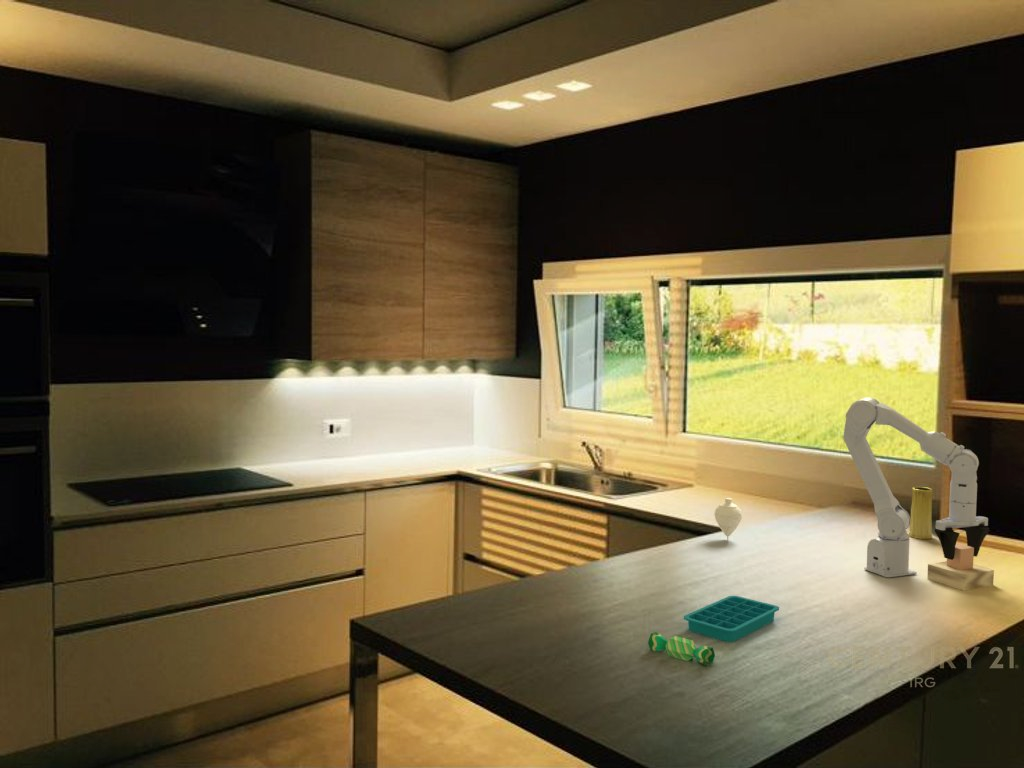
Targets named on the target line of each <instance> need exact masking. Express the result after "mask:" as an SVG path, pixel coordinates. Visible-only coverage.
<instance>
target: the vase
mask: <svg viewBox="0 0 1024 768" xmlns="http://www.w3.org/2000/svg"><path fill="white" fill-rule="evenodd" d="M911 495H912V496H911V506H910V525H909V533H908V535H909V536H910V537H911V538H912V539H913V538H914V539H919V540H930V539H931V540H932V538H933V534H932V531H933V530H932V526H933V524H932V517H933V516H932V515H933V514H932V510H933V509H932V508H933V505H932V504H933V501H932V500H933V496H932V495H933V489H932V488H930V487H925V486H913V487H912V493H911Z"/></svg>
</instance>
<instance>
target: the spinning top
mask: <svg viewBox="0 0 1024 768" xmlns="http://www.w3.org/2000/svg"><path fill="white" fill-rule="evenodd" d="M724 501H725V502H723V503H721V504H719V505H718V506H717V507H716V509H715V510H714V519H715V521H716V523H717V525H718V527H719V528H720V530H721V531H722V533H723V534H724V535H725V537H726V540H729V537H730V536H731V535H732V534H733V533H734V532H735V530H736V529H737V528H738V527H739V525H740V523H741V521H742V517H743V513H742V510H741V508H740V507H739V506H738V505H737V504H735V503H733V498H732V497H726V498H724Z"/></svg>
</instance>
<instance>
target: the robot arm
mask: <svg viewBox="0 0 1024 768" xmlns="http://www.w3.org/2000/svg"><path fill="white" fill-rule="evenodd" d="M874 423H875V425H878V426H879V425H881V426H882V425H883V426H890V427H891V428H893V429H895V430H897V431H899V432H901V433H902V434H904V435H905V436H907V437H909V438H911V439H912V440H914V441H916V442H917V443H918V444H919V447H920V450H921V451H922V452H923V453H925V454H927V455H928V456H929V457H931V458H932V459H934V460H936V461H937V462H939V463H940V464H942V465H943V466H947V467H949V470H950V471H951V476H950V477H951V480H950V483H949V500H948V501H949V502H948V503H949V504H948V517H946V518H943V519H939V520H935V527H934V533H935V534H936V536H937V538H938V540H939V543H940V545H941V549H942V553H943V554H942V555H943V558H945V559H946V560H947V559H950V560H953V559H954V554H955V546H956V544H957V541H958V538H959V536H960V532H956V531H955V530H953V529H960V528H964V531H965V534H966V535H965V536H966V545H967V546H970V547H973V548H974V558H975V557H978V556H979V552H980V549H981V546H982V543H983V541H984V540H985V538H986V537H987V535H988V534H989V532H990V527H988V526H989V518H988V517H986V516H982V515H981V516H980V515H978V516H977V499H978V497H977V496H978V494H977V493H978V483H977V481H978V476H977V471H978V467H979V465H980V461H979V458H978V456H977V455H976V454H975V453H974V452H973V451H972V450H971V449H967V448H966V449H965V446H964V445H962V444H960V445H959V444H957V443H955V442H953V441H952V440H951V439H949V438H947V437H946V436H947V434H946V433H944V432H943V431H941V432H938V431H926V430H925V429H923V428H922V427H920V426H919V425H918V424H916V423H915V422H913V421H912V420H910V419H908V418H907V417H906V416H904V415H902V414H901V413H900V412H898V411H897V410H896V409H894V408H892V407H890V406H889V405H887V404H885V403H883V402H880V401H878V400H877V399H876V398H874V397H863V398H862V399H858V400H855V401H854V402H852V404H850V406H849V408H848V409H847V412H846V413H845V424H844V428H843V429H844V430H843V435H842V436H843V441H844V443H845V445H846V447H847V450H848V451H849V454H850V455H851V456H850V457H851V458H852V460H853V462H854V464H855V466H856V468H857V471H858V474H860V477H861V478H862V479H861V480H862V481H863V484H864V487H865V488H866V490H867V492H868V494H869V496H870V498H871V502H872V503H873V506H874V513H875V515H876V518H877V529H878V531H879V532H877V536H876V537H875V538H873V539H870V541H868V543H867V549H866V566H864V570H866V571H868V572H871V573H874V574H876V575H879V576H882V577H885V578H895V577H902V576H903V577H904V576H910V575H917V574H918V573H917V572H918V571H915V570H912V569H909V563H910V562H909V560H910V536H909V533H908V532H907V529H908V528H910V519H911V515H910V514H909V512H908V511H907V510H906V509H904V508H903V507H902V506H901V504H900V501H899V500H898V499H897V498H896V497H895V496H894V494H893V493H892V490H891V488H890V486H889V484H888V482H887V480H886V477H885V476H884V473H883V471H882V468H880V465H879V463H878V461H877V458H876V457H875V454H874V452H873V451H872V449H871V446H870V444H869V442H868V439H867V436H868V434H869V432H870V430H871V428H872V426H873V425H874Z"/></svg>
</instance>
